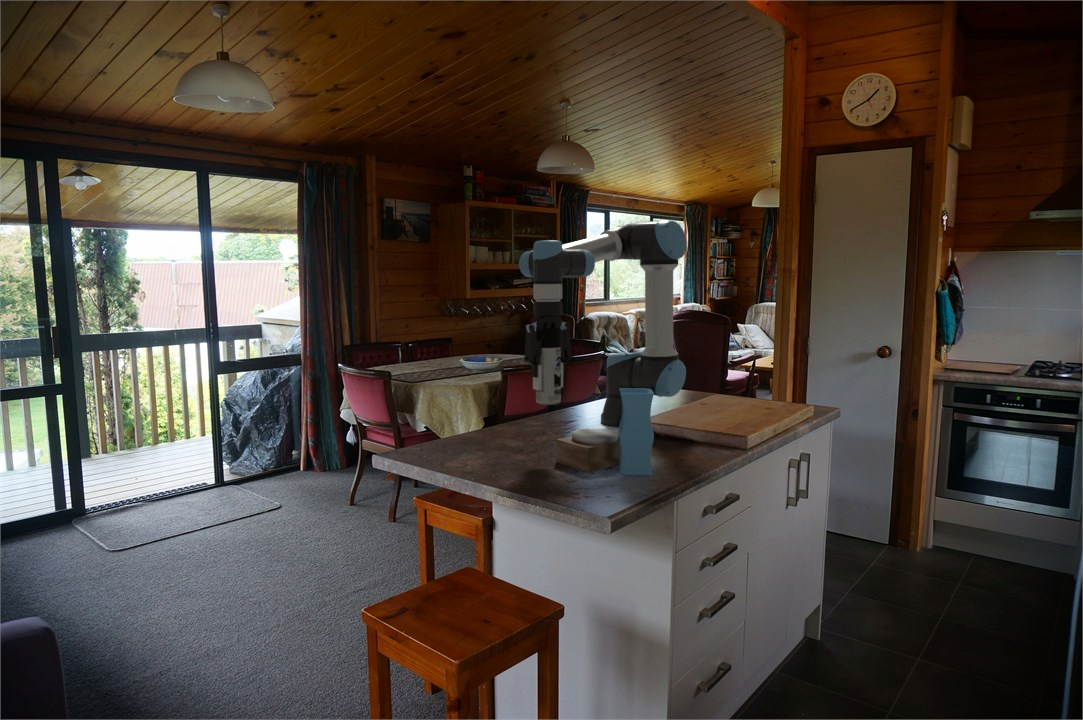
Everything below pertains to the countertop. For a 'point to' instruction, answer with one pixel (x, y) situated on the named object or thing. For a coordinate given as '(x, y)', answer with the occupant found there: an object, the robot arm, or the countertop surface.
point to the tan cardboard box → (589, 449)
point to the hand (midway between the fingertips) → (548, 387)
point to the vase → (636, 432)
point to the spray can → (550, 367)
